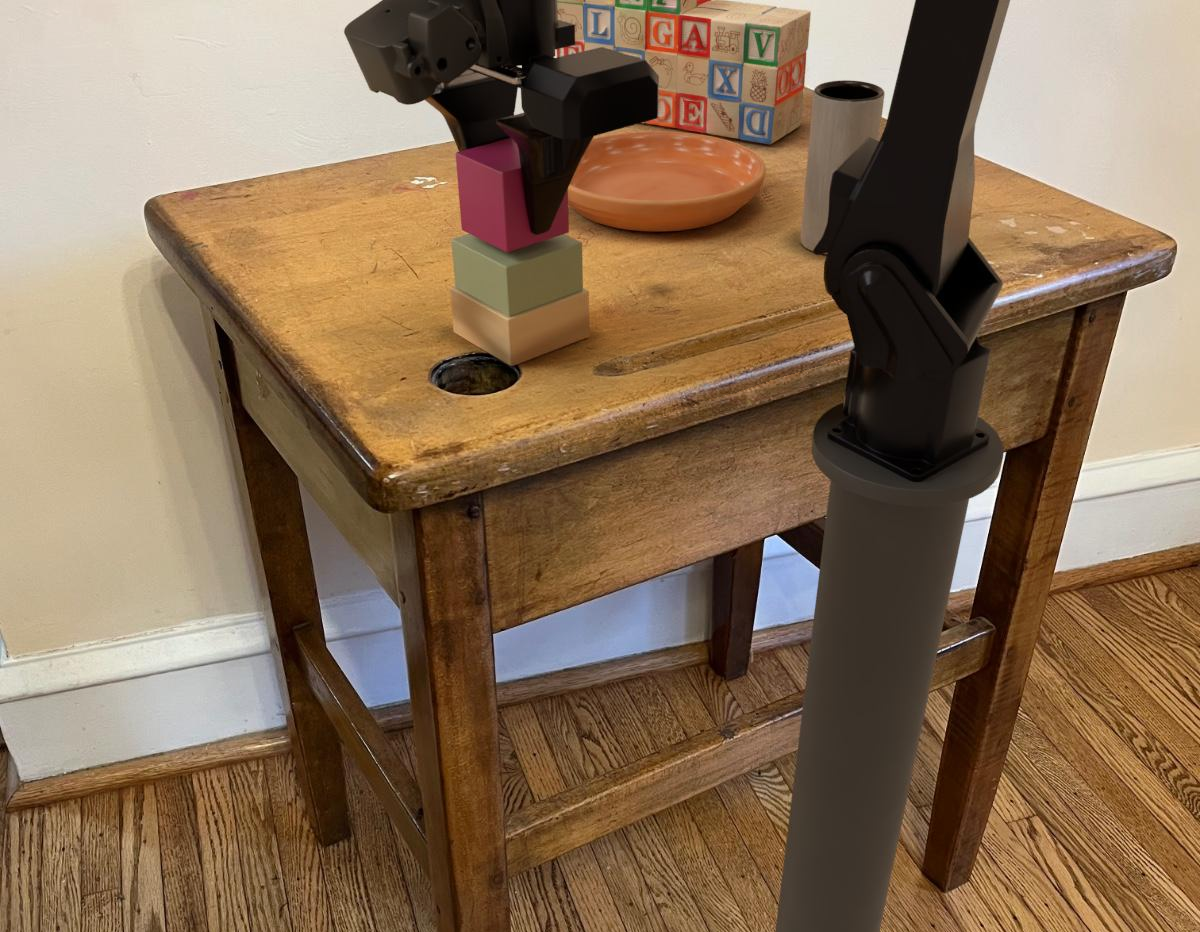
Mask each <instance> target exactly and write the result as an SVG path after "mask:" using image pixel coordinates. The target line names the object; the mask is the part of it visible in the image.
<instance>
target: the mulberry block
mask: <svg viewBox="0 0 1200 932" xmlns="http://www.w3.org/2000/svg"><path fill="white" fill-rule="evenodd" d="M455 165H456V166H455V167H456V178H457V188H458V189H457V190H458V201H459V202H458V203H459V211H460V212H459V213H460V225H461V230H462V231H464V232H465V233H467V234H471V235H473V236H475V237H477V238H479V239H481V240H483V241H485V242H487V243H489V244H491V245H493V246H495V247H497V248H499V249H501V250H503V251H505V252H511V251H514V250H517V249H520V248H523V247H526V246H529V245H532V244H535V243H538V242H541V241H544V240H547V239H550V238H553V237H556V236H559V235H563V234H565V235H567V234H568V233H569V232H570V220H569V215H570V214H569V212H570V211H569V204H568V189H567V192H566V194H565V196H564V198H563V201H562V203H561V205H560V207H559V210H558V212H557V214H556V217H555V219H554V221H553V223H552V226H551V228H550V230H549V231H547V232H545V233H542V234H539V235H535V234H533V233H532V232H531V230H530V226H529V221H528V216H527V211H526V205H525V197H524V189H523V181H522V173H521V165H520V158H519V150H518V146H517V144H516V143H515V142H514V141H513V140H512V139H511V138H508V139H504V140H501V141H497V142H493V143H489V144H486V145H482V146H478V147H475V148H471V149H467V150H464V151H460V152H459V151H456V152H455Z"/></svg>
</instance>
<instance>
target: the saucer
mask: <svg viewBox="0 0 1200 932" xmlns="http://www.w3.org/2000/svg"><path fill="white" fill-rule="evenodd" d="M766 172H767V167H766V164H765V161H764V160H763V158H762V157H761V156H760V155H759V154H758V153H756V152H755V151H754V150H751V149H750V148H748V147H746V146H744V145H742V144H739V143H737V142H734V141H730V140H728V139H724V138H721V137H717V136H713V135H712V136H711V135H706V134H699V133H692V132H681V131H680V132H679V131H631V132H622V133H615V134H608V135H603V136H598V137H595V138H594V137H593V139H592V141H591V142H590V144H589V146H588V148H587V150H586V151H585V153H584V155H583V157H582V159H581V161H580V163H579V165H578V167H577V169H576V172H575V173H574V176H573V178H572V180H571V183H570V185H569V187H568V205H569V206H571V207H572V208H573V209H574V210H575V211H576V212H577V213H578V214H579V215H581V216H583V217H585V218H586V219H588V220H589V221H592V222H595V223H598V224H601V225H603V226H607V227H611V228H616V229H620V230H626V231H627V230H628V231H637V232H658V233H659V232H679V231H686V230H694V229H699V228H704V227H707V226H711V225H714V224H718V223H719V222H722V221H724V220H726V219H728V218H729V217H731V216H733V215H734V214H735V213H736V212H737V211H738V210H739V209H741V208H742V207H743V206H745V205H746V204H747V203H749V202H750V201H751V200H752V198H753V197H754V196H756V195H757V193H759V192H760V191H761V189H762V187H763V184H764V181H765V177H766Z"/></svg>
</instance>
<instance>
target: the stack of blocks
mask: <svg viewBox="0 0 1200 932" xmlns="http://www.w3.org/2000/svg"><path fill="white" fill-rule="evenodd" d="M557 6H558V20H561V21H564V22H567V23H571V24H574V25H575V45H573V46H568V47H564V48H560V49H556V50H555V52H556V58H557V57H562V56H566V55H570V54H574V53H579V52H583V51H587V50H591V49H596V48H600V47H604V48H607V49H611V50H614V51H617V52H620V53H624V54H627V55H630V56H633V57H637V58H640V59H643V60H646V61H647V63H648V64H649V65H650V66H651V67H652V68H653V70H654V71H655V72H656V73H657V74H658V76H659V99H658V118H657V119H653V120H650V121H646V122H642V123H641V124H648V125H656V126H660V127H666V128H671V129H678V130H683V131H690V132H694V133H695V132H696V133H701V134H708V135H712V136H719V137H725V138H731V139H739V140H741V141H746V142H753V143H760V144H765V145H772V144H774V143H775V142H776V141H779V140H781V139H782V138H783V137H785V136H786V135H788V134H790V133H791V132H792V131H794V130H796V129H797V128H799V127H800V126H801V123H802V117H803V116H802V114H803V99H804V89H805V83H806V82H805V81H806V69H807V66H806V65H807V51H808V48H809V41H810V40H809V38H810V29H811V27H810V26H811V15H812V13H811V12H812V11H811V10H806V9H797V8H788V7H782V6H781V7H780V6H779V7H777V6H776V5H767V4H758V3H750V2H742V1H734V0H557Z"/></svg>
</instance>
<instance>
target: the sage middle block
mask: <svg viewBox="0 0 1200 932" xmlns="http://www.w3.org/2000/svg"><path fill="white" fill-rule="evenodd" d="M450 241H451V243H450V244H451V254H452V255H451V256H452V264H453V265H452V266H453V276H454V286H456V287H457V288H459V289H460V290H462V291H464V292H466V293H468V294H469V295H471V296H473V297H475V298H477V299H478V300H480V301H482V302H484V303H486V304H487V305H489V306H491V307H493V308H495V309H497V310H498V311H500V312H502V313H504V314H506V315H507V316H513V315H516V314H518V313H521V312H524V311H527V310H529V309H532V308H535V307H538V306H541V305H543V304H546V303H549V302H552V301H554V300H557V299H560V298H563V297H566V296H568V295H571V294H574V293H577V292H579V291H582V290H583V289H584V275H583V273H584V272H583V271H584V268H583V243H582V241H580V240H578V239H575V238H574V237H572V236H569V235H567V234H563V235H559V236H556V237H553V238H550V239H547V240H544V241H541V242H538V243H535V244H532V245H529V246H526V247H523V248H520V249H517V250H514V251H511V252H505V251H503V250H501V249H499V248H497V247H495V246H493V245H491V244H489V243H487V242H485V241H483V240H481V239H479V238H477V237H475V236H473V235H471V234H469V233H467V234H466V233H465V234H464V235H460V236H457V237H454V238H451V240H450Z"/></svg>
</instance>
